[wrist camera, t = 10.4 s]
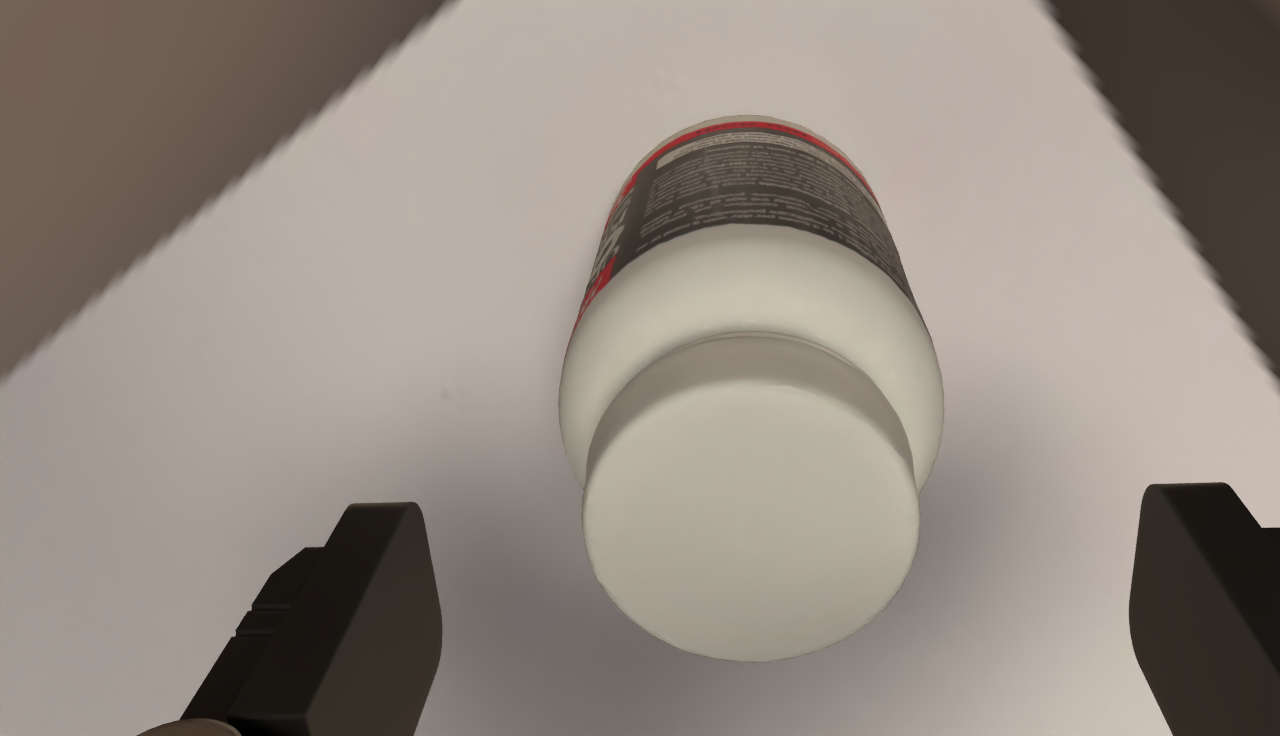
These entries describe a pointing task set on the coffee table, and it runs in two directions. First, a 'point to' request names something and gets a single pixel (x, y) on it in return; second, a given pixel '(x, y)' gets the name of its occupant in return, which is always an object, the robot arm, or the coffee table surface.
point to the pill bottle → (750, 396)
